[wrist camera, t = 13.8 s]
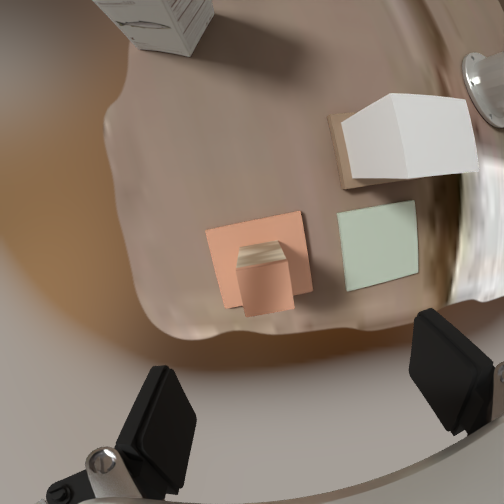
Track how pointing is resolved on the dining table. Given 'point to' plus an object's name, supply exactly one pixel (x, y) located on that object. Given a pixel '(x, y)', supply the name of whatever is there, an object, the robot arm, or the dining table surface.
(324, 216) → the dining table surface
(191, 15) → the supplement box
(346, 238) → the sage pad
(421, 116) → the mounted unit
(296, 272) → the terracotta pad
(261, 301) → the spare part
